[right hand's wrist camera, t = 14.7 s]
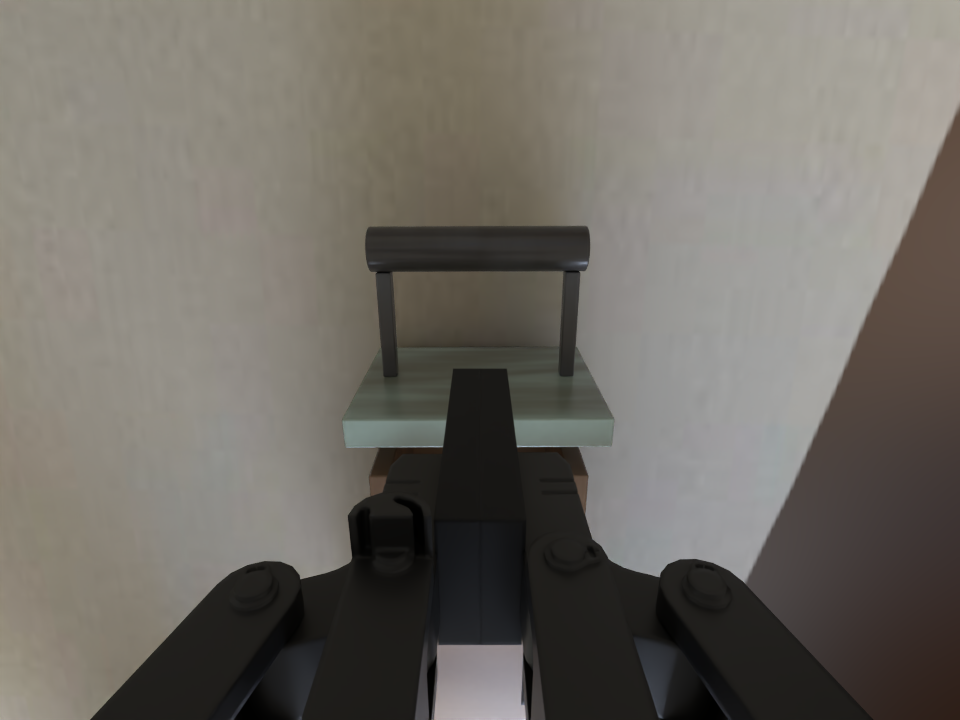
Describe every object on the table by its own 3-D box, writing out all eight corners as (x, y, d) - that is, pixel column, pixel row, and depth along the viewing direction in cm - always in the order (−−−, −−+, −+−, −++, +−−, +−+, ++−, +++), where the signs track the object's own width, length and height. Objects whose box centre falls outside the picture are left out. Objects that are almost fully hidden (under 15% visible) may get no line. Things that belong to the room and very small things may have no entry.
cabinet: (384, 497, 30) (344, 639, 21) (574, 496, 30) (614, 638, 21) (400, 701, 36) (374, 879, 27) (559, 701, 36) (586, 878, 27)
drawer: (370, 217, 24) (321, 242, 17) (585, 216, 24) (632, 241, 17) (398, 591, 32) (374, 720, 24) (560, 591, 32) (585, 719, 24)
